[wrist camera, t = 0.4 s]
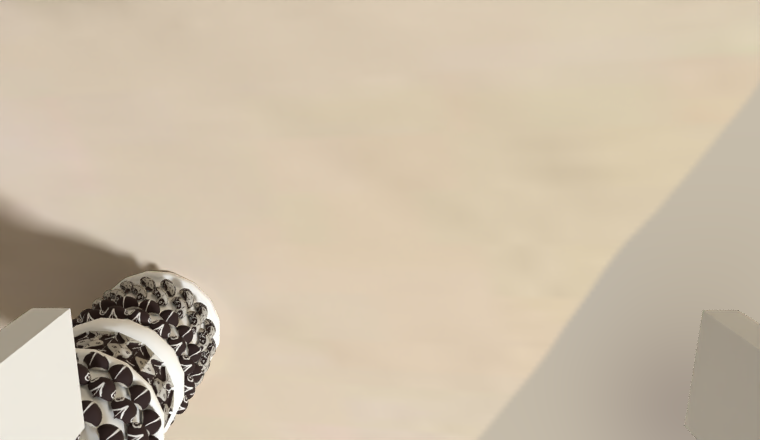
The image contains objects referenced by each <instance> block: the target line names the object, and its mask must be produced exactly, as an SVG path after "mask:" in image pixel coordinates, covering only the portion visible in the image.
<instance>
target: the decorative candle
mask: <svg viewBox="0 0 760 440" xmlns="http://www.w3.org/2000/svg"><path fill="white" fill-rule="evenodd" d="M103 297H104V299H103V298H98V299H96V300H95V301H94V302H93V304H92V306H93V307H92V309H86V310H84V311H82V312H81V313H80V315H79V317H78V319H74V320H72V327H73V335H74V343H75V351H76V359H77V368H78V376H79V384H80V392H81V401H82V409H83V417H84V425H85V428H84V429H83V430H82V432H81V433H80V434H79V435H78V437H77V438H76V439H75V440H164V433H165V432H166V431H167V430H168V428H169V426H170V425H171V424H172V423H173V422H174V420H175V415H176V414H181V413H183V412H184V411H185V410H186V408H187V406H188V399H190V398H191V397H192V396H193V395H194V393H195V387H196V386H198V385H199V384H200V383H201V381H202V380H203V377H204V373H205V372H206V371H207V370H208V368H209V366H210V361H211V359H212V357H213V355H214V354H215V351H216V348H217V346H218V344H219V342H220V320H219V317H218V315H217V312H216V310H215V308H214V305H213V303H212V300H211V299H210V298H209V297H208V296H207V295H206V294H205V293H204V292H203V291H202V290H201V289H200V288H199V287H198V286H197V285H196V284H195V283H194V282H192V281H190V280H188V279H185V278H183V277H181V276H179V275H177V274H174V273H172V272H159V271H145V272H142V273H139V274H136V275H133V276H129V277H126V278H124V279H123V280H122V281H121V282H120V283H119V284H118V285H116V286H115V287H114V288H113V289H112V290H107V291H106V292H105V293H104V295H103Z"/></svg>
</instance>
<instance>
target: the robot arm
mask: <svg viewBox="0 0 760 440" xmlns="http://www.w3.org/2000/svg"><path fill="white" fill-rule="evenodd" d="M684 426H685V427H686V428H687V429H688V431H689V432H691V434H692V435H693V436H694V437H695V438H696V439H697V440H760V324H759V323H758V322H756V321H755V320H753V319H751V318H750V317H748V316H747V315H745V314H744V313H742V312H740V311H739V310H703V312H702V319H701V324H700V331H699V337H698V343H697V350H696V356H695V362H694V369H693V375H692V381H691V387H690V394H689V401H688V407H687V413H686V419H685V425H684ZM84 428H85V425H84V417H83V409H82V401H81V392H80V384H79V376H78V368H77V359H76V351H75V343H74V335H73V327H72V318H71V310H70V308H31V309H30V310H29V311H27V312H26V313H24V314H23V315H21V316H20V317H19V318H17V319H16V320H14V321H13V322H11V323H10V324H9V325H7V326H6V327H4V328H3V329H1V330H0V440H75V439H76V438H77V437H78V435H79V434H80V433H81V432H82V430H83V429H84Z"/></svg>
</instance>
